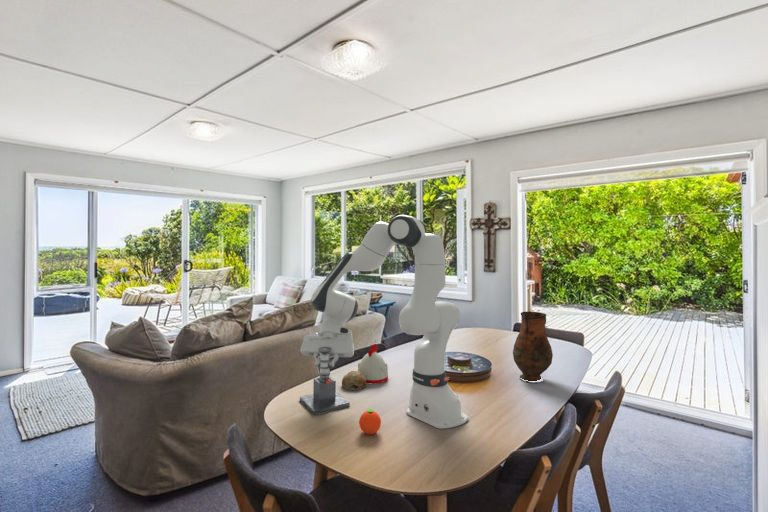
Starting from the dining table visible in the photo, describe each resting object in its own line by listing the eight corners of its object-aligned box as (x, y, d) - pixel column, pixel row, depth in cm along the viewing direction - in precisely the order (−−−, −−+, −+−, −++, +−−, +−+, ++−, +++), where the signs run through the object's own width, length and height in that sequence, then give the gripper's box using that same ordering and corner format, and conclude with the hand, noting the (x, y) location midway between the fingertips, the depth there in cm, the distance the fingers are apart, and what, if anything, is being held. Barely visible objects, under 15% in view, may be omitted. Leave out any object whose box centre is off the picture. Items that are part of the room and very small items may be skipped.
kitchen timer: (392, 375, 173) (393, 343, 172) (380, 386, 160) (380, 351, 160) (365, 371, 178) (366, 339, 178) (351, 380, 166) (351, 346, 165)
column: (332, 394, 141) (333, 349, 140) (321, 396, 139) (321, 350, 138) (327, 390, 145) (328, 346, 144) (316, 392, 142) (316, 347, 142)
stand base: (349, 406, 140) (350, 380, 139) (313, 415, 132) (314, 387, 132) (333, 393, 151) (333, 369, 151) (299, 400, 144) (300, 375, 144)
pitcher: (505, 379, 171) (507, 312, 170) (525, 368, 186) (527, 307, 185) (542, 389, 160) (544, 318, 158) (560, 377, 175) (563, 312, 174)
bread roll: (343, 398, 156) (344, 383, 152) (339, 379, 165) (341, 365, 161) (366, 396, 159) (368, 381, 155) (361, 377, 167) (363, 364, 164)
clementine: (358, 426, 125) (359, 404, 125) (380, 425, 125) (380, 404, 125) (359, 438, 117) (359, 416, 117) (381, 438, 117) (381, 415, 117)
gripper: (303, 328, 149) (295, 360, 139) (354, 330, 147) (350, 362, 137) (306, 336, 153) (298, 368, 144) (356, 338, 151) (352, 371, 142)
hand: (324, 365), depth 141 cm, fingers open, 4 cm apart
